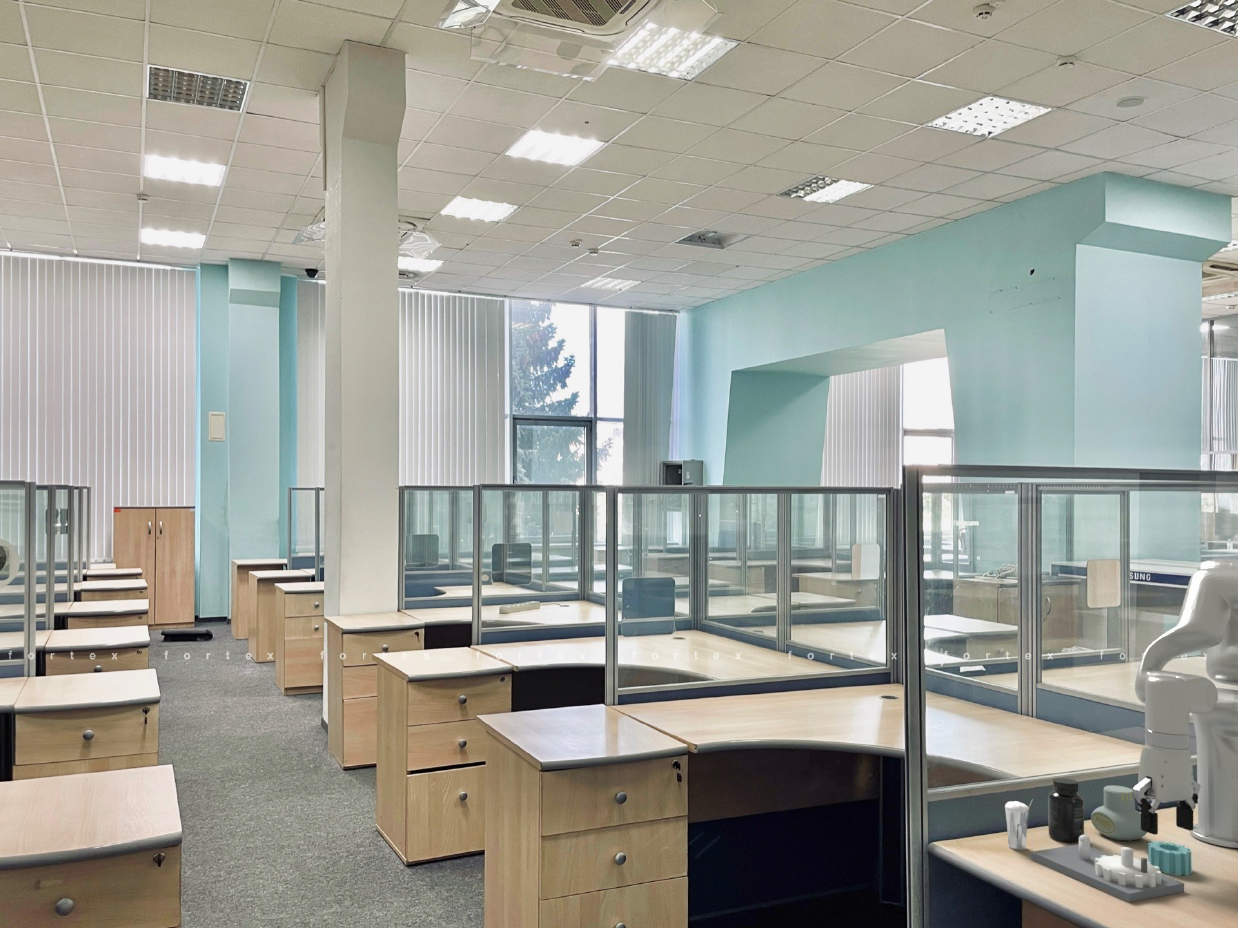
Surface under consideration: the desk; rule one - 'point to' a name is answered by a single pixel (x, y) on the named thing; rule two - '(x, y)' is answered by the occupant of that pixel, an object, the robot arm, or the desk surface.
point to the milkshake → (1017, 824)
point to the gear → (1170, 857)
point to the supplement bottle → (1065, 811)
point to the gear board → (1109, 871)
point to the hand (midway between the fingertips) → (1167, 830)
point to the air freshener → (1118, 815)
